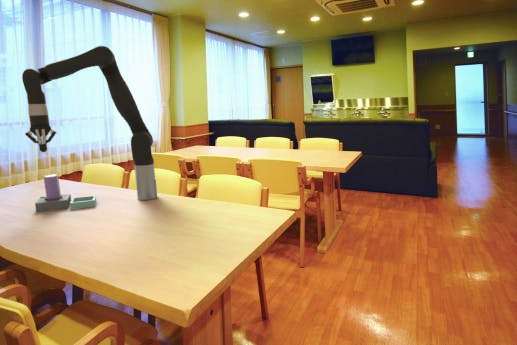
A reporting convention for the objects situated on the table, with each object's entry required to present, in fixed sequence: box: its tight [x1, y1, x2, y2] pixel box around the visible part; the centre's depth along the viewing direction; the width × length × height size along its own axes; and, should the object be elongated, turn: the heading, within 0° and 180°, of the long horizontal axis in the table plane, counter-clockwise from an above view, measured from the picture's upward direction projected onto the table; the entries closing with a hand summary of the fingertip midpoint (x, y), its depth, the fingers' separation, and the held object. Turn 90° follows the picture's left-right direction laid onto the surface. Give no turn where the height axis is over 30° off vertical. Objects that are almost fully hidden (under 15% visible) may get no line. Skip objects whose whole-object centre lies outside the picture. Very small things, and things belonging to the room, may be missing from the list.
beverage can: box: [43, 174, 62, 201], centre depth 172 cm, size 6×6×15 cm
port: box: [34, 193, 72, 213], centre depth 173 cm, size 13×13×4 cm
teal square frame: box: [69, 194, 97, 210], centre depth 174 cm, size 10×10×3 cm
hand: (43, 151), depth 170 cm, fingers closed
